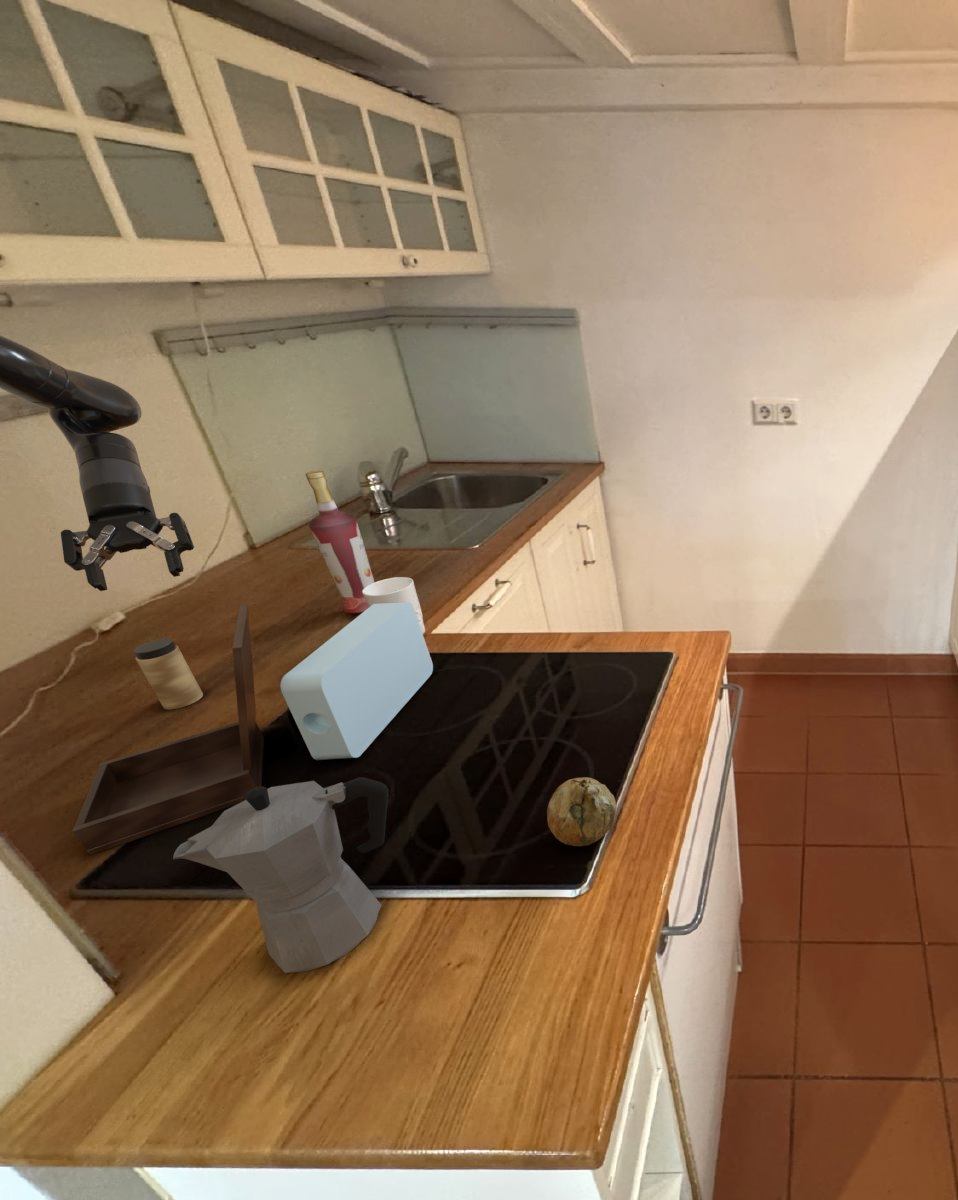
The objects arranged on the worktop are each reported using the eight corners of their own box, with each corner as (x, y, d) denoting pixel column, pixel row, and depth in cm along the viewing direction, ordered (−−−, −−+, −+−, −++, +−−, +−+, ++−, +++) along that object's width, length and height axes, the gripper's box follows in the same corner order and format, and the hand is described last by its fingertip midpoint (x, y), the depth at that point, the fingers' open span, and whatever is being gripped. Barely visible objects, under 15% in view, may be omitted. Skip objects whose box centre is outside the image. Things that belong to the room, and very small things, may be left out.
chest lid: (232, 648, 75) (241, 647, 76) (239, 604, 86) (247, 604, 87) (242, 770, 80) (251, 769, 81) (248, 715, 91) (256, 714, 91)
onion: (626, 802, 79) (616, 750, 76) (618, 853, 72) (605, 798, 69) (562, 810, 78) (548, 757, 75) (547, 863, 71) (531, 807, 68)
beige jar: (160, 713, 100) (128, 657, 95) (165, 699, 103) (134, 644, 99) (201, 702, 102) (172, 646, 98) (204, 688, 106) (176, 634, 101)
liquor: (389, 611, 129) (340, 472, 117) (346, 622, 125) (290, 480, 113) (384, 599, 135) (336, 465, 122) (342, 610, 130) (288, 472, 118)
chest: (89, 856, 74) (71, 831, 72) (115, 785, 85) (100, 762, 83) (261, 796, 82) (248, 772, 81) (264, 739, 93) (253, 717, 91)
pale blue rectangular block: (399, 672, 108) (372, 600, 102) (434, 670, 108) (410, 598, 103) (309, 765, 87) (269, 682, 81) (354, 762, 88) (317, 679, 82)
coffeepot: (239, 1008, 58) (140, 861, 50) (248, 931, 65) (163, 791, 57) (433, 919, 65) (375, 779, 57) (423, 858, 72) (369, 726, 64)
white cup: (437, 631, 121) (421, 582, 117) (393, 650, 115) (375, 599, 111) (415, 621, 125) (399, 573, 121) (372, 638, 119) (353, 589, 115)
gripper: (40, 490, 98) (61, 583, 95) (165, 473, 106) (189, 559, 102) (68, 515, 104) (88, 603, 101) (184, 497, 112) (207, 579, 109)
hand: (139, 581), depth 102 cm, fingers open, 8 cm apart
